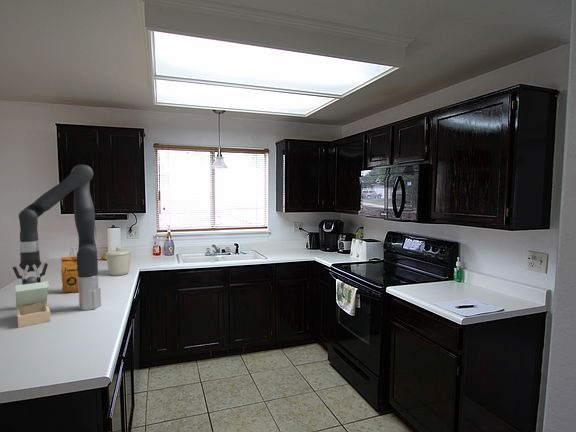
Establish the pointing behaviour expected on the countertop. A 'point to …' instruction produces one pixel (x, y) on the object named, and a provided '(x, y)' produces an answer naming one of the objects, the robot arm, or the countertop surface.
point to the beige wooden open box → (33, 314)
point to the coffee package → (69, 274)
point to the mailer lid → (31, 292)
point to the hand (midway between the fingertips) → (31, 285)
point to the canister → (118, 261)
